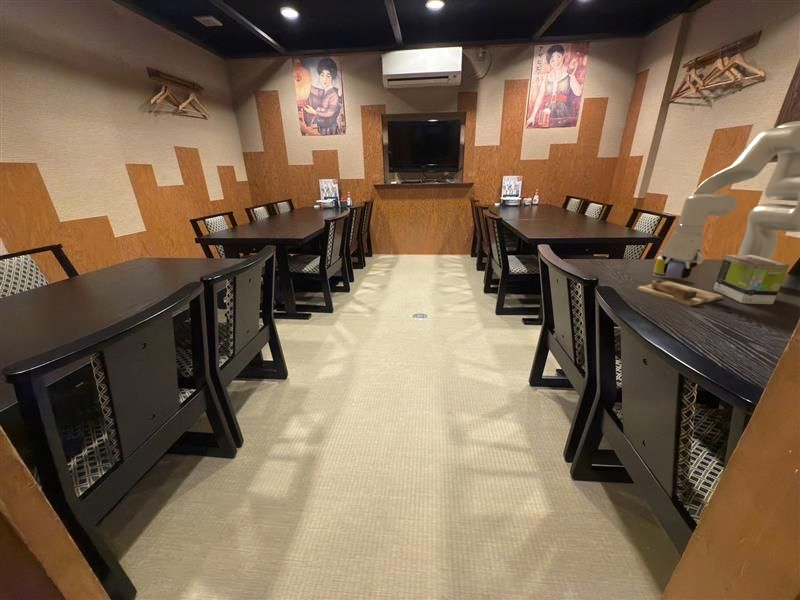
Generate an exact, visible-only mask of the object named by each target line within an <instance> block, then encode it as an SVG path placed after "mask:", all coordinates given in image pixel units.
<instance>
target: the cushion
mask: <svg viewBox="0 0 800 600" xmlns="http://www.w3.org/2000/svg"><path fill="white" fill-rule="evenodd" d="M684 268H686V263H685V261H682V260H677V259H675V260H670V261H669V265H668V268H667V271H666V275H665V276H667V277H668V278H671V279H676V280H678V279H679V280H682V279H685V278H681V276H682V273H683V269H684Z"/></svg>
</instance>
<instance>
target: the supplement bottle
mask: <svg viewBox="0 0 800 600" xmlns="http://www.w3.org/2000/svg"><path fill="white" fill-rule="evenodd" d="M661 251H662V250H660V252H661ZM660 252H659V253H660ZM674 260H676V259H674ZM664 266H665V263H664V260H663V258H662V256H661V255H660V254H659V256H658V257H656V261H655V264H654V268H653V272H652V276H654V277H656V278H663V279H666V278H667V279H668V278H669V277H667V276H665V275H666V274H664V273H663V272H664Z"/></svg>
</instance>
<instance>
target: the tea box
mask: <svg viewBox="0 0 800 600" xmlns="http://www.w3.org/2000/svg"><path fill="white" fill-rule="evenodd" d="M722 260H723V261H722V263H721V266H720V269H719V271H718V274H717V277H716V279H715V283H714V287H713V291H716V292H717V293H720V294H722V295H724V296H727V297H728V298H730V299H733V300H734V301H737V302H739V303H741V304H750V305H751V304H752V305H753V304H754V305H772V304H774V303H775V300H776V297H777V295H778V293H779V291H780V288H781V285H782V284H783V282H784V279H785V277H786V275H787V272H788V270H789V267H790V264H789V263H785V262H781V261H777V260H773V259H772V258H771V259H767V258H763V257H759V256H756V255H738V254H725V255H724V256H723V259H722Z"/></svg>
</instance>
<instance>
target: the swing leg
mask: <svg viewBox="0 0 800 600" xmlns="http://www.w3.org/2000/svg"><path fill="white" fill-rule="evenodd" d="M651 284H652V285H651ZM651 284H650V285H651V287H652V288H656V289H659V290H663V291H666V292H669V293H672V294H674V292H675V289H676V288H681V289H685V290H687V292H686V295H685V298H688V299H691V298H695V297H696V294H697V291H693V290H690V289H686V288H683V287H680V286H676V285H673V284H669V283H666V281H663V280H662V279H660V278H659V279H653V280H652V282H651Z"/></svg>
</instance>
